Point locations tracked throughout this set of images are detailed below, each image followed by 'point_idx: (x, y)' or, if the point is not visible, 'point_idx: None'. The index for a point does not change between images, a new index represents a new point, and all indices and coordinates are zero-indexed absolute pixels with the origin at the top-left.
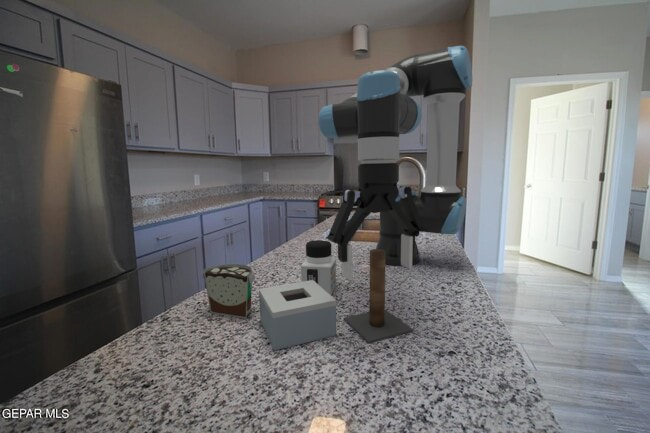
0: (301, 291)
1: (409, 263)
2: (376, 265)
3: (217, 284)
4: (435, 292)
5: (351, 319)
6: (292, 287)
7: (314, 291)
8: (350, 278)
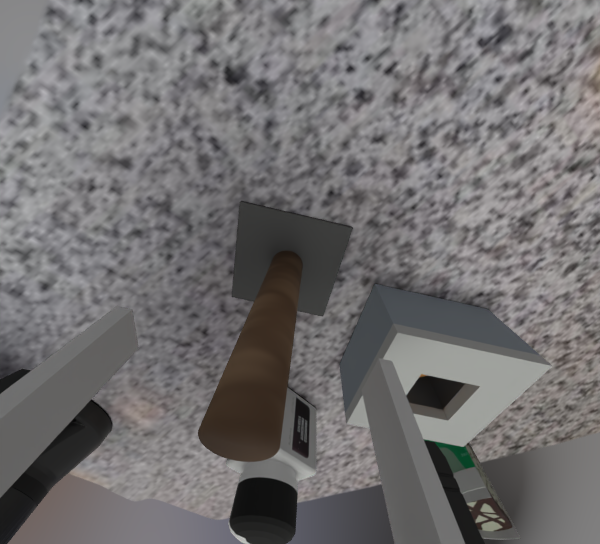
0: None
1: (114, 323)
2: (280, 368)
3: (490, 487)
4: (76, 282)
5: (316, 303)
6: None
7: None
8: (388, 363)
